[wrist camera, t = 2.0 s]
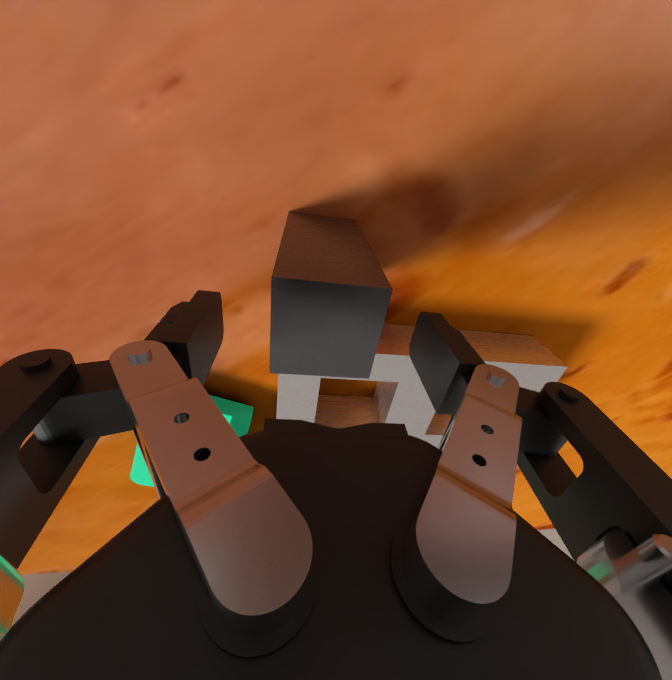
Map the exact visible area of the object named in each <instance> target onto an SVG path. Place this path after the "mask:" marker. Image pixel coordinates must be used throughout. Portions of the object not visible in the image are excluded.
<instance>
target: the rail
mask: <svg viewBox="0 0 672 680" xmlns="http://www.w3.org/2000/svg"><path fill="white" fill-rule="evenodd" d="M414 329H415V326H413V325H401V324H389V323H384V324H383V328H382V331H381V335H380V339H379V343H378V347H377V350H376V354H375V358H374V362H373V366H372V369H371V373H370V377H369V379H365V378H347V377H330V376H312V375H294V374H278V390H277V414H276V419H292V420H304V421H308V422H312V423H316V424H320V425H324V426H328V427H333V428H345V427H351V426H356V425H362V424H367V423H396V424H405V427H406V430H407V432H408V435H411V436H414V437H417V438H419V439H422V440H424V441H426V442H428V443H430V444H432V445H433V446H435V447H437V448H438V446H439V443H440V441H441V439H442V436H443V434H444V432H445V429H446V427H447V425H448V423H449V421H450V419H451V415H448V414H436V411H435V409H434V407H433V405H432V403H431V401H430V399H429V397H428V395H427V392H426V390H425V388H424V386H423V384H422V382H421V380H420V378H419V376H418V373H417V371H416V369H415V367H414V365H413V363H412V361H411V359H410V356H409V345H410V341H411V338H412V335H413V332H414ZM456 330H458V331H459V332H461V333H462V335H463V336H464V337H465V338H466V340H467V342H469V343H470V345H471V346H472V348H474V350H475V351H476V352H477V353H478V354H479V356H480V357H481V358H482V359H483V361H484V362H485V363H486V364H489V365H494V366H497V367H500V368H502V369H504V370H506V371H507V372H509V373H510V374H512V375H513V376H514V377H515V378H516V379H517V381H518V382H519V387H522V388H526V389H529V390H533V391H537V392H540V391H541V389H542V388H543V386H544V385H545V384H546V383H547V382H557V381H558V380H559V379H560V377H561V376H562V375H563V373H564V372H565V370H566V369H567V368H568V366H566V365H565V364H564V363H563V362H562V361H561V360H560V359H559V358H557V357H556V356H555V355H554V354H553V353H552V352H551V351H550V350H549V349H547V348H546V347H545V346H544V345H543V344H542V343H541V342H540V341H538V340H537V339H536V338H535V337H534V336H531V335H520V334H508V333H496V332H484V331H472V330H460V329H456ZM321 378H331V379H349V380H367V381H377V383H376V387H375V390H374V394H373V397H362V396H341V395H321V394H319V387H320V380H321Z"/></svg>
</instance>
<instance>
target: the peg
mask: <svg viewBox="0 0 672 680" xmlns="http://www.w3.org/2000/svg"><path fill="white" fill-rule="evenodd" d="M392 290H393V289H392V287H391V285H390V283H389V281H388V280H387V278H386V276H385V274H384V272H383V270H382V269H381V267H380V265H379V263H378V261H377V259H376V258H375V256H374V254H373V252H372V250H371V248H370V247H369V245H368V243H367V241H366V239H365V237H364V236H363V234H362V232H361V230H360V228H359V226H358V225H357V223H356V221H355V220H350V219H342V218H334V217H327V216H319V215H312V214H304V213H296V212H289V214H288V217H287V221H286V225H285V229H284V232H283V236H282V240H281V244H280V247H279V251H278V255H277V259H276V262H275V266H274V270H273V274H272V285H271V330H270V373H277V374H294V375H312V376H330V377H347V378H365V379H369V377H370V373H371V369H372V366H373V362H374V358H375V354H376V350H377V347H378V343H379V339H380V335H381V331H382V328H383V324H384V320H385V316H386V313H387V309H388V305H389V301H390V297H391V294H392Z"/></svg>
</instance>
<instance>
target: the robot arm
mask: <svg viewBox="0 0 672 680" xmlns="http://www.w3.org/2000/svg"><path fill="white" fill-rule="evenodd" d="M222 340H223V315H222V300H221V294H220V293H219V292H212V291H201V290H198V291H197V292H196V294H195V295H194V296H193V298H192V299H191V300H190V302H181V303H179V304H177V305H175V306H173V307H171V308H170V310H169V311H168V312H167V313H166V314H165V316H164V317H163V318H162V319H161V320H160V323H158V324H157V325H156V326H155V328H154V329H153V330H152V331H151V332H150V334H149V335H148V336H147V337H146V338H145V339H144V340H143V341H136V342H131V343H128V344H125V345H123V346H121V347H119V348H117V349H116V350H115V351H113V353H112V354H111V355H110V358H109V360H106V361H98V362H90V363H81V364H75V362H74V359H73V357H72V355H71V354H70V353H69V352H67V351H64V350H60V349H45V350H38V351H33V352H29V353H26V354H23V355H20V356H17V357H15V358H13V359H11V360H9V361H8V362H6V363H5V364H3V365H2V366H1V367H0V680H672V479H671V478H670V477H669V476H668V475H667V474H666V473H665V472H664V471H663V470H662V469H661V468H660V467H659V466H658V465H656V464H655V463H654V462H653V461H652V460H651V459H650V458H649V457H648V456H647V455H646V454H645V453H644V452H643V451H642V450H641V449H640V448H639V447H638V446H637V445H636V444H635V443H634V442H633V441H632V440H631V439H630V438H629V437H628V436H627V435H626V434H625V433H624V432H623V431H622V430H620V429H619V428H618V427H617V426H616V425H615V424H614V423H613V422H612V421H611V420H610V419H609V418H608V417H607V416H606V415H605V414H604V413H603V412H602V411H601V410H600V409H599V408H598V407H597V406H596V405H595V404H594V403H593V402H592V401H591V400H590V399H589V398H588V397H586V396H585V395H584V394H583V393H581V392H580V391H578V390H576V389H575V388H573V387H570V386H568V385H566V384H562V383H559V382H547V383H546V384H545V385H544V386H543V388H542V389H541V391H540V392H537V391H533V390H529V389H526V388H522V387H519V382H518V381H517V379H516V378H515V377H514V376H513V375H512V374H510V373H509V372H507V371H506V370H504V369H502V368H500V367H497V366H494V365H489V364H486V363H485V362H484V361H483V359H482V358H481V357H480V356H479V354H478V353H477V352H476V351H475V350H474V348H472V346H471V345H470V343H469V342H467V340H466V338H465V337H464V336H463V335H462V333H461V332H459V331H458V330H456V329H455V328H453V327H452V326H450V325H449V323H448V322H447V321H446V320H445V318H444V317H443V316H442V315H441V314H440V313H430V312H421V313H420V315H419V317H418V320H417V323H416V326H415V329H414V332H413V335H412V338H411V341H410V345H409V356H410V359H411V361H412V363H413V365H414V367H415V369H416V371H417V373H418V376H419V378H420V380H421V382H422V384H423V386H424V388H425V390H426V392H427V395H428V397H429V399H430V401H431V403H432V405H433V407H434V409H435V411H436V414H448V415H451V419H450V421H449V423H448V425H447V427H446V429H445V432H444V434H443V436H442V439H441V441H440V443H439V446H438V448H437V447H435V446H433V445H432V444H430V443H428V442H426V441H424V440H422V439H419V438H417V437H414V436H411V435H408V432H407V430H406V427H405V424H396V423H367V424H362V425H356V426H351V427H345V428H333V427H328V426H324V425H320V424H316V423H312V422H308V421H304V420H292V419H266V418H265V425H264V430H259V431H255V432H252V433H248V434H246V435H243V436H241V437H238V435H237V434H236V433H235V431H234V430H233V428H232V427H231V425H230V424H229V423H228V421H227V420H226V418H225V417H224V415H223V414H222V413H221V411H220V410H219V408H218V407H217V406H216V404H215V403H214V401H213V400H212V398H211V397H210V396H209V394H208V393H207V391H206V390H205V388H204V387H203V385H204V383H205V380H206V378H207V376H208V373H209V371H210V369H211V366H212V364H213V362H214V360H215V357H216V355H217V353H218V350H219V348H220V346H221V343H222ZM130 430H132V431H133V433H134V436H135V438H136V441H137V443H138V446H139V448H140V451H141V453H142V456H143V458H144V461H145V463H146V466H147V468H148V470H149V473H150V475H151V478H152V481H153V484H154V486H155V489H156V492H157V495H158V497H159V500H158V501H157V502H156V503H154V504H153V505H152V506H151V507H150V508H148V509H147V510H146V511H145V512H144V513H142V514H141V515H140V516H139V517H138V518H136V519H135V520H134V521H133V522H131V523H130V524H129V525H128V526H127V527H125V528H124V529H123V530H122V531H121V532H119V533H118V534H117V535H116V536H115V537H113V538H112V539H111V540H110V541H109V542H107V543H106V544H105V545H104V546H103V547H101V548H100V549H99V550H98V551H97V552H95V553H94V554H93V555H92V556H91V557H89V558H88V559H87V560H86V561H85V562H83V563H82V564H81V565H80V566H79V567H77V568H76V569H75V570H74V571H73V572H71V573H70V574H69V575H68V576H66V577H65V578H64V579H63V580H62V581H60V582H59V583H58V584H57V585H56V586H54V587H53V588H52V589H51V590H50V591H49V592H47V593H46V594H45V595H44V596H43V597H42V598H40V599H39V600H38V601H37V602H36V603H35V604H34V605H33V606H32V607H30V608H29V609H28V610H27V611H26V612H25V614H23V615H22V617H21V618H20V619H19V620H18V621H17V622H16V623H15V624H14V625H13V626H12V622H13V618H14V615H15V613H16V610H17V608H18V606H19V603H20V601H21V598H22V595H23V592H24V580H23V577H22V575H21V574H20V573H19V572H18V571H17V568H18V567H19V565H20V564H21V562H22V560H23V559H24V557H25V556H26V554H27V552H28V551H29V549H30V548H31V546H32V545H33V543H34V541H35V540H36V538H37V537H38V535H39V533H40V532H41V530H42V529H43V527H44V525H45V524H46V522H47V521H48V519H49V517H50V516H51V514H52V513H53V511H54V509H55V508H56V506H57V505H58V503H59V501H60V500H61V498H62V497H63V495H64V494H65V492H66V490H67V489H68V487H69V486H70V484H71V482H72V481H73V479H74V478H75V476H76V474H77V473H78V471H79V470H80V468H81V466H82V465H83V463H84V462H85V460H86V458H87V457H88V455H89V454H90V452H91V450H92V449H93V447H94V446H95V444H96V443H97V441H98V439H99V438H100V436H105V435H110V434H115V433H120V432H125V431H130ZM32 431H33V433H34V434H33V435H32V436H31V437H30V438H29V439H28V440H27V442H26V443H25V444H24V445H23V446H22V447H21V444H22V443H23V441H24V440H25V438H26V437H27V436H28V435H29V434H30V433H31V432H32ZM567 440H568V441H569V442H570V444H571V445H572V446H573V447H574V449H575V450H576V451H577V452H578V453H579V455H580V456H581V458H582V460H583V466H584V467H583V472H582V473H581V475H580V476H579V477H578V478H577V477H576V476H575V475H574V473H573V472H572V471H571V469H570V468H569V467H568V465H567V464H566V462H565V461H564V460H563V458H562V457H561V456H560V454H559V453H558V451H559V450H560V449H561V448H562V446H563V445H564V444H565V443H566V442H567ZM20 447H21V449H20ZM19 449H20V450H19ZM517 464H518V466H519V468H520V469H521V471H522V473H523V475H524V476H525V478H526V480H527V481H528V483H529V485H530V486H531V488H532V490H533V491H534V493H535V495H536V497H537V498H538V500H539V502H540V503H541V505H542V507H543V508H544V510H545V512H546V513H547V515H548V517H549V519H550V520H551V522H552V524H553V525H554V527H555V529H556V530H557V532H558V534H559V535H560V537H561V539H562V540H563V542H564V544H565V546H566V547H567V549H568V551H569V552H570V554H571V556H572V558H573V559H574V560H572V559H571V558H570V557H569V556H568V555H566V554H565V553H564V552H563V551H561V550H560V549H559V548H558V547H557V546H556V545H554V544H553V543H552V542H551V541H550V540H548V539H547V538H546V537H545V536H543V535H542V534H541V533H540V532H539V531H537V530H536V529H535V528H534V527H533V526H531V525H530V524H529V523H528V522H527V521H525V520H524V519H523V518H522V517H521V516H519V515H518V514H517V513H516V512H515V511H513V509H512V500H513V492H514V483H515V475H516V467H517Z"/></svg>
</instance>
